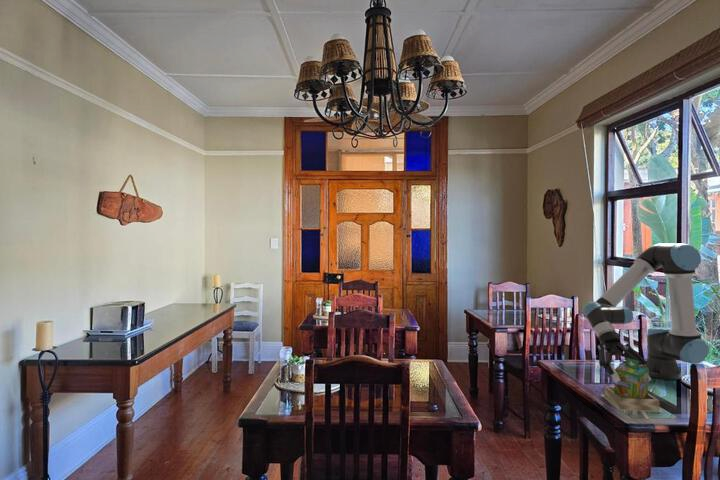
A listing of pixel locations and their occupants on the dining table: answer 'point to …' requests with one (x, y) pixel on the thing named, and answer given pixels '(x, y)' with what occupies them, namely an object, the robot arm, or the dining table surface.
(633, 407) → the tray
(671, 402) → the dining table surface
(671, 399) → the dining table surface
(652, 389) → the dining table surface
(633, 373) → the chalk box
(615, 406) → the mat
